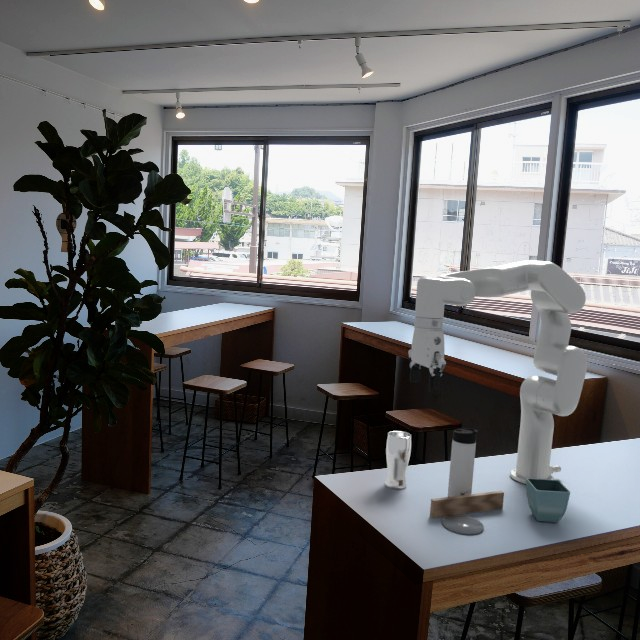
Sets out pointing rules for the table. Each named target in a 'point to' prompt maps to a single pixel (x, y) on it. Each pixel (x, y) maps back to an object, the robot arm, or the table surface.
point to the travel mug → (462, 462)
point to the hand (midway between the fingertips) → (424, 386)
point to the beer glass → (397, 458)
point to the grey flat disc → (463, 525)
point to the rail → (466, 504)
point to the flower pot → (547, 499)
